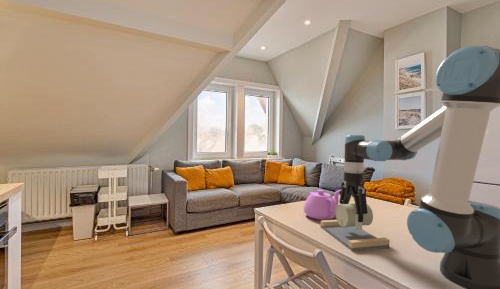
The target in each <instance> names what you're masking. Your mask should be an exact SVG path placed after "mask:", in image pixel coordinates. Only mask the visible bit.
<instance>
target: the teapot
mask: <svg viewBox="0 0 500 289" xmlns="http://www.w3.org/2000/svg"><path fill="white" fill-rule="evenodd" d="M316 191H317V192H314V191H310V192H308V195H307V198H306V200H305V202H304V204H303V212H304V213H305V215H306V216H308V217H309V218H311V219H315V220H319V221H323V220H334V218H336V207H337V206H338V205H339V201H340V199H339V196H340V195H339V194H340V193H341V189H337V190H336V191H335V192H334V195H333V196H332V195H331V194H330V193H327V192H325V190H323V189H317V190H316Z"/></svg>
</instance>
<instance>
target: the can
mask: <svg viewBox="0 0 500 289" xmlns="http://www.w3.org/2000/svg"><path fill="white" fill-rule="evenodd" d="M356 213H357V210H356V205H355V203H349V204H340V203H338V206H337V207H336V216H335V218H336V219H335V220H337V221H338V223H339V225H340V226H342V227H345V226H355V218H356ZM373 219H374V213H373V210H372V208H371V206H370V204H368V203H367V214H363V222H362V226H370V225H371V224H372V223H373Z"/></svg>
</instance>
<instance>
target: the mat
mask: <svg viewBox="0 0 500 289" xmlns="http://www.w3.org/2000/svg"><path fill="white" fill-rule="evenodd" d="M320 228H321V229H322V230H324V231H325V232H327V233H328V234H329V235H330V236H332V237H333V238H334V239H336V240H337V241H338V242H340V243H341V244H342V245H344V246H345V247H346V248H347V249H348V250H350V251H353V252H354V251H363V250H375V249H389V248H390V239H389V238H387V237H376V236H375V235H373V234H371V233H370V232H368V231H366V230H365V229H363V228H362V230H355V226H345V227H342V226H340V225H339V223H338V221H337V219H329V220H320Z"/></svg>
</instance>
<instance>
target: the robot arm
mask: <svg viewBox="0 0 500 289" xmlns="http://www.w3.org/2000/svg"><path fill="white" fill-rule="evenodd" d="M434 80H435V81H434V82H435V84H436V87H438V90H439V91H441V93H442V95H441V98H440V99H441V100H440V103H441V104H442V105H443V106H441V107H440V108H439V109H438V110H436V111H435V112H433V113H432V114H430V115H429V116H428V117H426V118H425V119H424V120H421V122H420V123H418V124H417V125H416V126H414V127H413V128H411V129H410V130H409V131H407V132H406V133H404V134H403V135H401V136H400V137H398V138H397V139H395V140H379V139H378V140H377V139H376V140H375V139H374V140H372V139H371V140H366V139H365V135H364V134H363V135H362V134H347V135H346V136H345V139H344V163H343V164H344V165H343V166H344V167H343V171H344V172H343V180H344V182H341V189H340V190H341V191H340V193H339V194H340V195H339V202H338V204H350V201H351V198H353V200H354V204H355V205H356V210H357V213H356V218H355V230H362V229H363V225H362V222H363V214H367V204H368V203H367V188H366V187H365V188H363V187H362V184H361V183H363V182H364V173H363V172H364V166H365V164H364V163H365V160H368V161H374V162H386V161H409V160H412V159H415V157H416V155H417V154H418V151H420V150H421V149H424V148H425V147H426V146H428V145H429V144H431V143H433V142H435V141H437V140H438V139H439V138H440V139H439V144H438V149H437V153H436V158H435V162H434V167H433V172H432V177H431V180H430V181H431V182H430V184H429V186H430V187H429V191H428V193H426V194H424V195H422V196H421V198H420V202H419V207H418V208H415V209H413V210H412V211H411V212H410V213H409V214H408V215H407V217H406V224H407V225H406V226H407V229H408V232H409V234H410V235H411V236H412V239H413V240H414V241H415V243H416V244H417V245H418V246H419V247H421V248H422V249H423V250H426V251H427V252H430V253H435V254H437V253H441V254H442V253H444V254H443V256H442V257H441V260H440V263H439V271H440V273H441V274H442V275H443V276H444V278H446V279H448V280H450V281H451V282H453V283H455V284H457V285H459V286H461V287H464V288H466V289H500V208H499V207H498V206H494V205H492V204H487V203H482V202H479V201H472V200H470V196H471V193H472V188H473V183H474V180H475V176H476V172H477V168H478V164H479V160H480V155H481V152H482V149H483V148H482V147H483V143H484V139H485V136H486V132H487V127H488V123H489V120H490V115H491V112H493V111H494V110H495V109H496V108H498V107H500V49H499V48H494V47H491V46H488V45H483V46H482V45H481V46H480V45H470V46H469V45H468V46H464V47H460V48H458V49H457V50H455V51H453V52H451V53H450V54H449V55H448V56H447V57H445V58H444V59H443V60H442V61H441V63H440V64H439V66H438V68H437V70H436V72H435V77H434Z"/></svg>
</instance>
